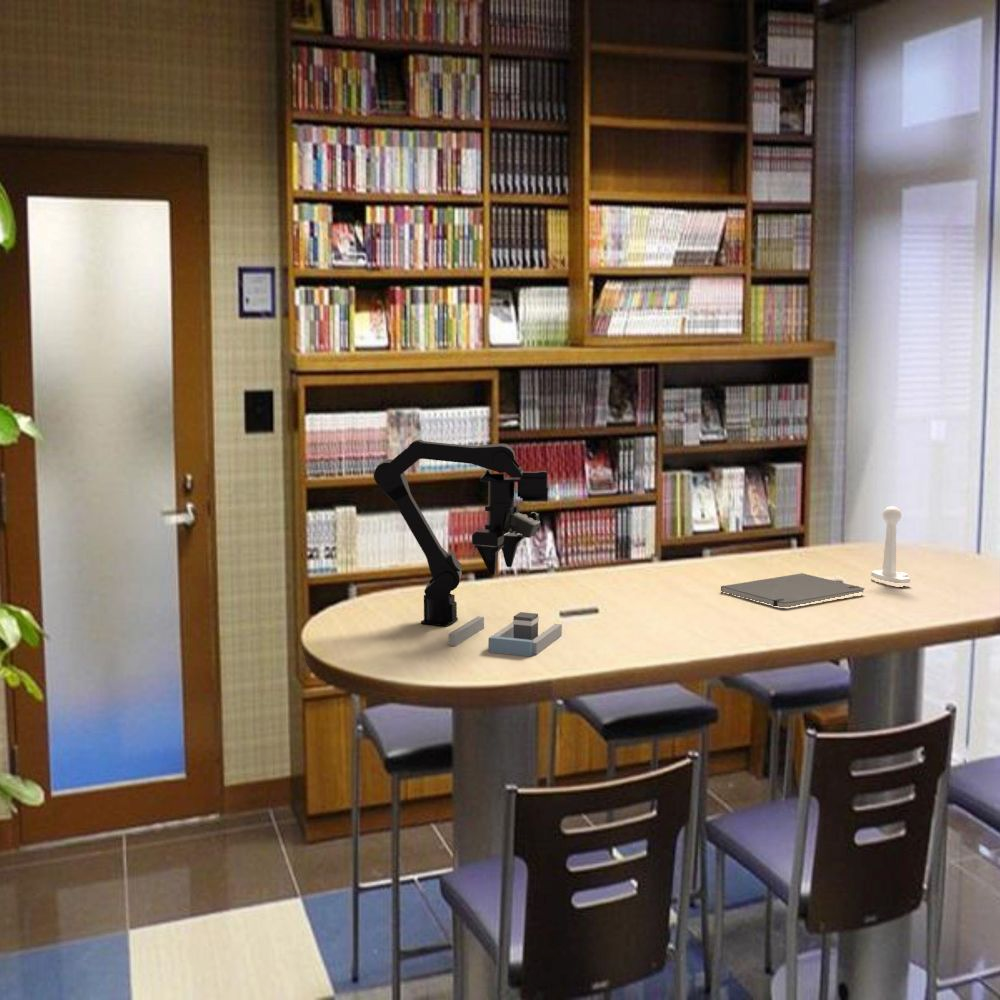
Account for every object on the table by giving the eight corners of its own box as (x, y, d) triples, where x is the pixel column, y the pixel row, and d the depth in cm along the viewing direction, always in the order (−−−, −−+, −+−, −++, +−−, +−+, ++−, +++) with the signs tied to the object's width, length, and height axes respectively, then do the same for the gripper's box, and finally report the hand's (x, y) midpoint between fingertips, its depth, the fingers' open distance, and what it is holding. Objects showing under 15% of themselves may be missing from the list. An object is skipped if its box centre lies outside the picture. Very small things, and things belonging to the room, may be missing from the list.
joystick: (867, 579, 316) (870, 503, 313) (890, 577, 319) (893, 501, 316) (896, 588, 306) (900, 510, 303) (920, 585, 309) (924, 508, 306)
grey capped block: (513, 644, 255) (513, 616, 254) (520, 639, 259) (520, 611, 258) (531, 646, 254) (531, 618, 253) (538, 641, 258) (538, 613, 257)
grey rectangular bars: (445, 647, 253) (445, 633, 252) (477, 627, 269) (477, 614, 268) (533, 656, 246) (534, 642, 245) (561, 635, 262) (561, 622, 261)
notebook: (801, 581, 317) (720, 594, 302) (802, 572, 317) (720, 585, 302) (866, 597, 299) (783, 612, 284) (867, 588, 299) (784, 602, 284)
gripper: (518, 510, 257) (517, 582, 259) (551, 498, 274) (550, 566, 276) (470, 506, 261) (470, 577, 264) (505, 494, 278) (505, 561, 281)
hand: (500, 570), depth 271 cm, fingers open, 9 cm apart
